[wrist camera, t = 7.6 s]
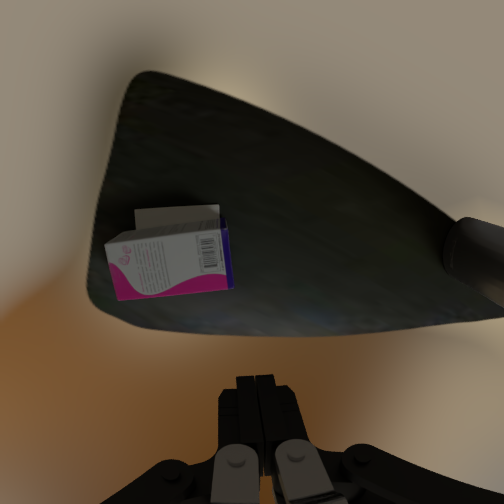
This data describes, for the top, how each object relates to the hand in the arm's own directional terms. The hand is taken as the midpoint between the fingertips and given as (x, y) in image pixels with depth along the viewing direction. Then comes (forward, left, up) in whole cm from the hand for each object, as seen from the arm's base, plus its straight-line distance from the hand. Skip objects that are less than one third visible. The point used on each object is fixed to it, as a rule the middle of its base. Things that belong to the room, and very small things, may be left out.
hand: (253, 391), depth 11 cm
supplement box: (0, -1, -19) cm, 19 cm away
